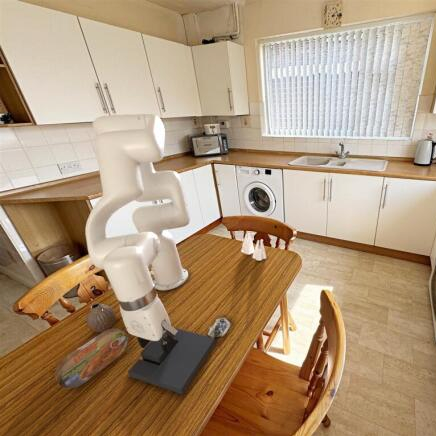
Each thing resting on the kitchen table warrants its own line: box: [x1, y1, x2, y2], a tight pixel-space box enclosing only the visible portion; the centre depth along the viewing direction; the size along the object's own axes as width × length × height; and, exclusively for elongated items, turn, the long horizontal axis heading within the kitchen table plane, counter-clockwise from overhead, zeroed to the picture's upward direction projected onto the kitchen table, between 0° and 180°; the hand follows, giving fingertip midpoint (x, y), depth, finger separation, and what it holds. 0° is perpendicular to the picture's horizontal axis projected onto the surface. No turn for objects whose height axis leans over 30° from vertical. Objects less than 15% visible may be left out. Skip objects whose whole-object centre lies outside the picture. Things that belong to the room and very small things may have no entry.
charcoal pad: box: [127, 327, 217, 396], centre depth 63 cm, size 16×14×2 cm
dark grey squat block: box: [139, 335, 177, 365], centre depth 65 cm, size 6×6×4 cm
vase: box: [85, 302, 117, 333], centre depth 72 cm, size 7×7×9 cm
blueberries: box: [206, 317, 232, 339], centre depth 72 cm, size 7×8×2 cm
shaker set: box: [240, 233, 267, 261], centre depth 105 cm, size 12×4×11 cm, turn 58°
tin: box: [54, 328, 129, 389], centre depth 61 cm, size 15×3×8 cm, turn 148°
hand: (158, 346), depth 64 cm, fingers open, 7 cm apart
